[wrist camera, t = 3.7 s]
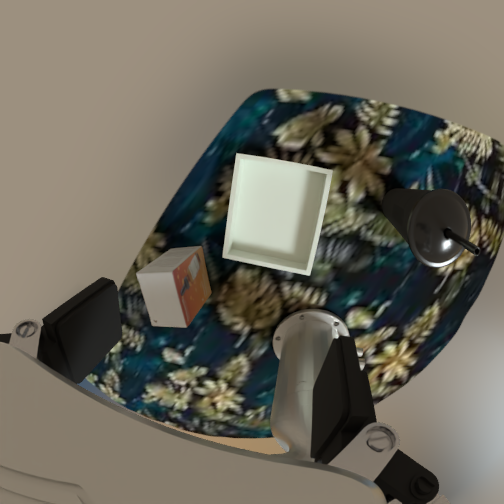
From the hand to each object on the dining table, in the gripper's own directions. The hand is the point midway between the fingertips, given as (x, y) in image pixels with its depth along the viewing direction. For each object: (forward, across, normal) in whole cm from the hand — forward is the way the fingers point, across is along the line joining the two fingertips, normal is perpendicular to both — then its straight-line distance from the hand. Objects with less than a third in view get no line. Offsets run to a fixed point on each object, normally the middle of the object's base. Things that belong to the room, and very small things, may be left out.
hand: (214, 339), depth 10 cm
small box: (+29, +12, +12) cm, 33 cm away
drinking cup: (+28, -16, -4) cm, 33 cm away
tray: (+28, 0, 0) cm, 28 cm away
